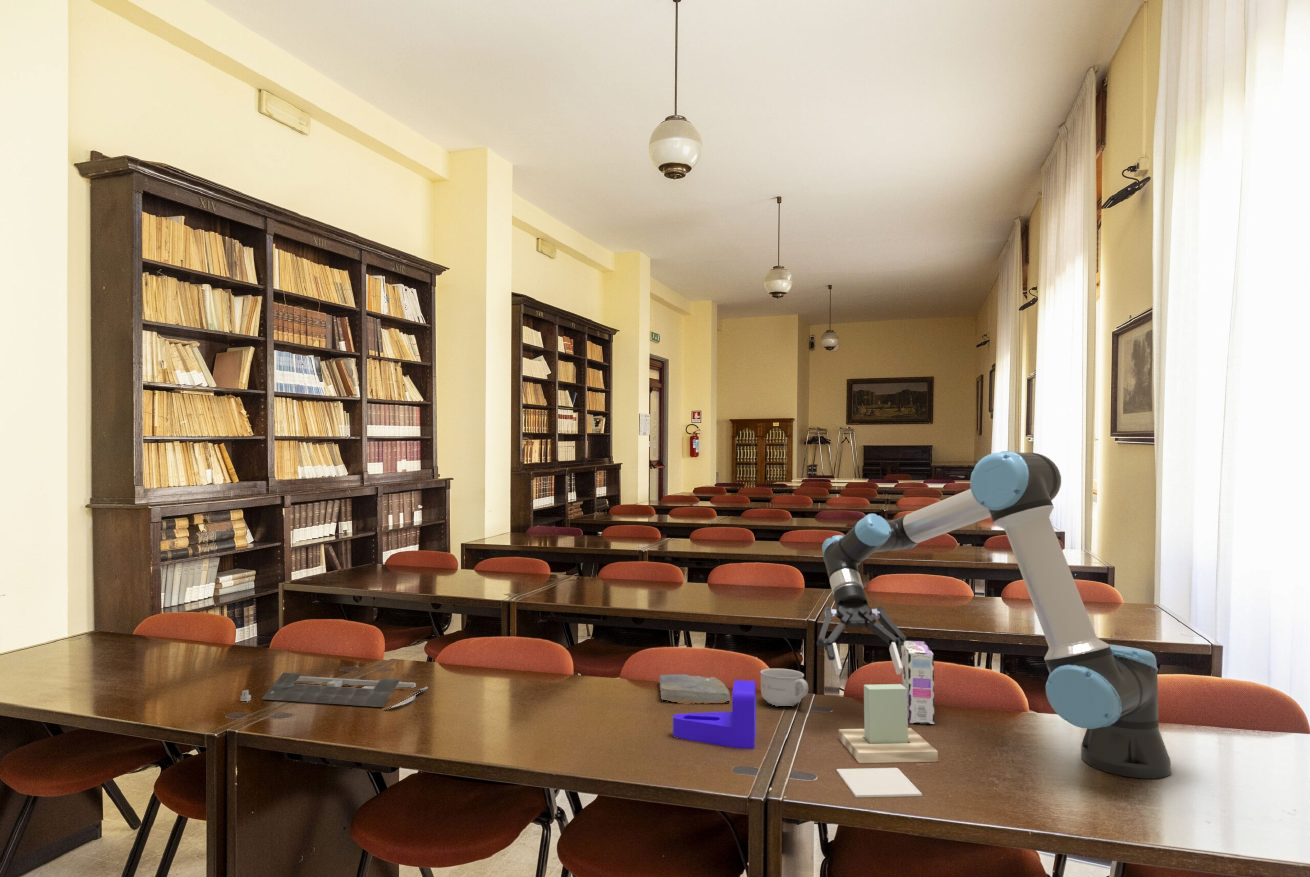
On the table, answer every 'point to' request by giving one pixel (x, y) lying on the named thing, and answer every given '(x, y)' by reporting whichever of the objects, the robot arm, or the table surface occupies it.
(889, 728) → the tall mint prism
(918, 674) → the candy box
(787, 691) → the teacup
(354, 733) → the table surface
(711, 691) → the fossil
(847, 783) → the white square tile
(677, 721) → the bracket
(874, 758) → the wooden square base
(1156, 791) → the table surface
